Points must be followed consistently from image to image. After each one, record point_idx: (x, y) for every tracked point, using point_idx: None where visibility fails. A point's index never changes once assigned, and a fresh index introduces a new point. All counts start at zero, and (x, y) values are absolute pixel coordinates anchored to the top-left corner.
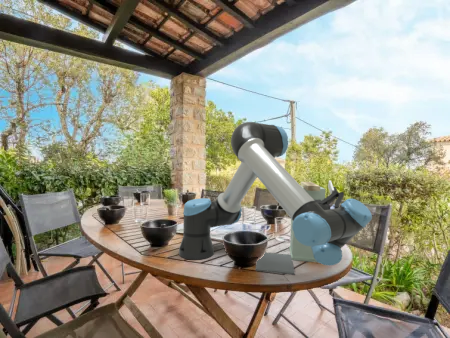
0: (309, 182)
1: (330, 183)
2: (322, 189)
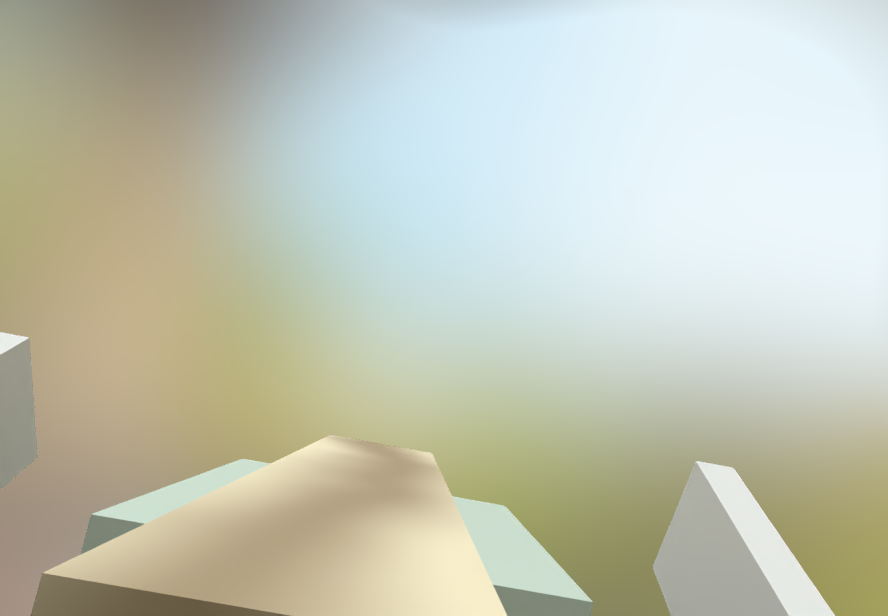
0: (403, 455)
1: (754, 543)
2: (544, 604)
